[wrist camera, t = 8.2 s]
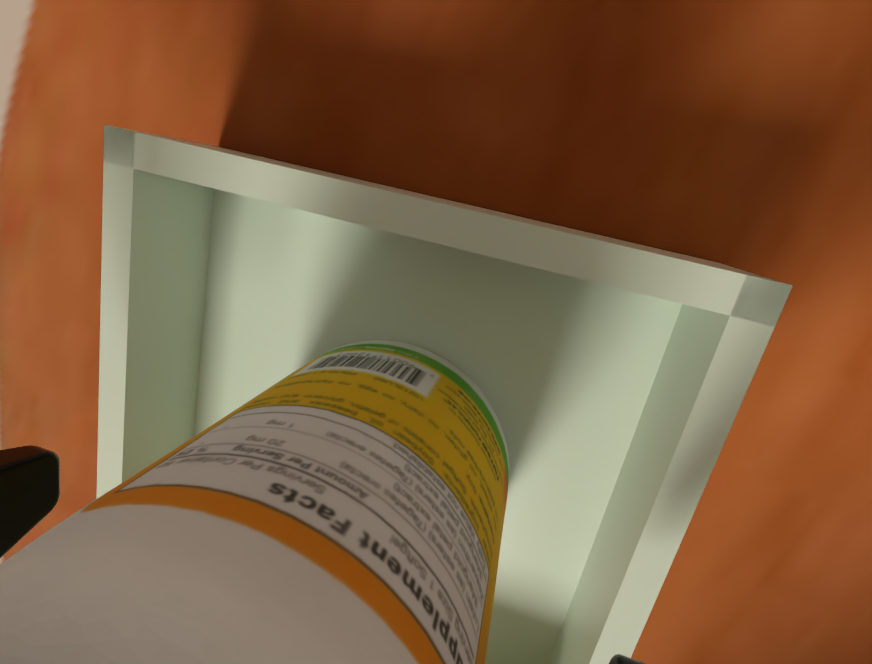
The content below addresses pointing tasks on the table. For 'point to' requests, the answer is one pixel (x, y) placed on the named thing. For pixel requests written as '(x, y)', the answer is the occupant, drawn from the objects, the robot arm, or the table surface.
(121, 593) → the supplement bottle
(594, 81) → the table surface
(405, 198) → the tray
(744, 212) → the table surface
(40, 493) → the robot arm
